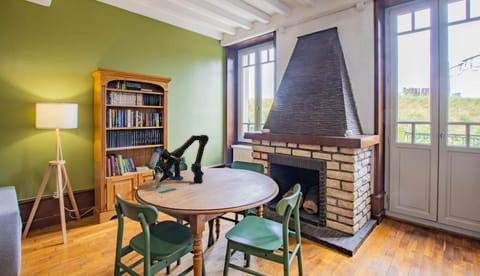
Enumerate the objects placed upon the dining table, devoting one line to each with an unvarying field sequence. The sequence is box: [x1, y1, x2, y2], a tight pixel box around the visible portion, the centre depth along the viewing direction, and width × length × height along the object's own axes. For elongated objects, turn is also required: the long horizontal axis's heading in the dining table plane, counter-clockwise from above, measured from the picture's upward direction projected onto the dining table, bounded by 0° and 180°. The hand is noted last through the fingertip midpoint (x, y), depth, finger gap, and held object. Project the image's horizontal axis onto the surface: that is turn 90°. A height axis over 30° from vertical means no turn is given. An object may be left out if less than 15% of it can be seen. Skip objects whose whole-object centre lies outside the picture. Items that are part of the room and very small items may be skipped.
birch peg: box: [154, 172, 162, 188], centre depth 193 cm, size 4×4×11 cm
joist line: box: [158, 187, 178, 194], centre depth 185 cm, size 12×4×1 cm, turn 139°
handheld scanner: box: [168, 156, 186, 181], centre depth 223 cm, size 5×16×20 cm, turn 79°
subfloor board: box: [147, 184, 181, 195], centre depth 190 cm, size 20×14×2 cm
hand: (156, 180), depth 192 cm, fingers open, 9 cm apart
